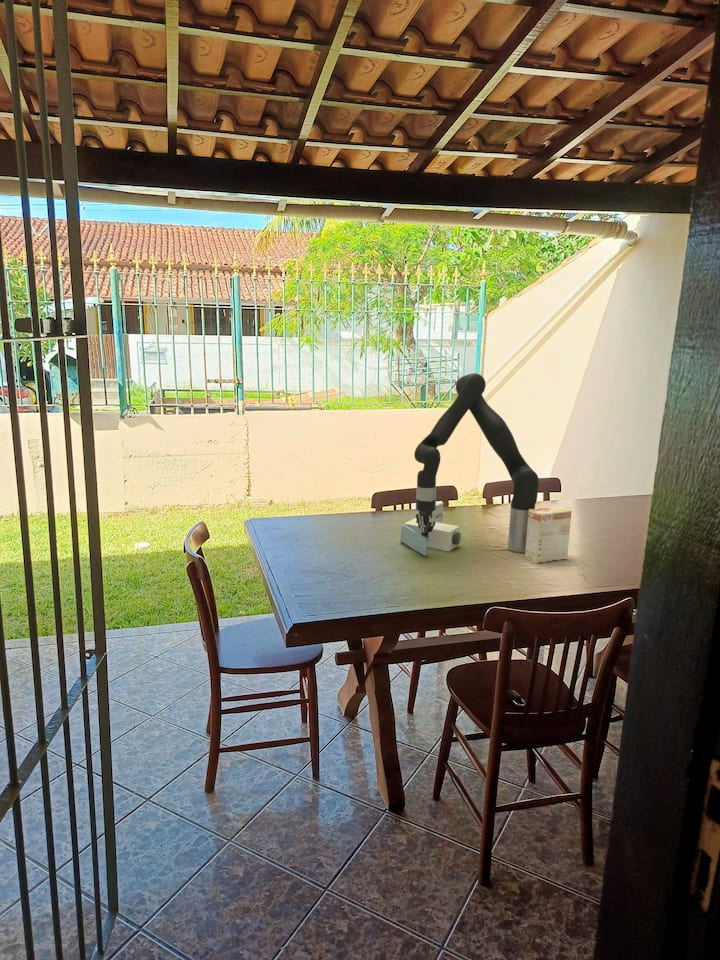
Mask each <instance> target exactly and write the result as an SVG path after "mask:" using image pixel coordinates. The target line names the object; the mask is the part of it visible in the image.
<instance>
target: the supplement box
mask: <svg viewBox="0 0 720 960" xmlns="http://www.w3.org/2000/svg"><path fill="white" fill-rule="evenodd" d="M432 521H433V522H438V523H444V522H443V521H444V502H442V501H438V500H436V509H435V510H434V511H433V512H432Z"/></svg>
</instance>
